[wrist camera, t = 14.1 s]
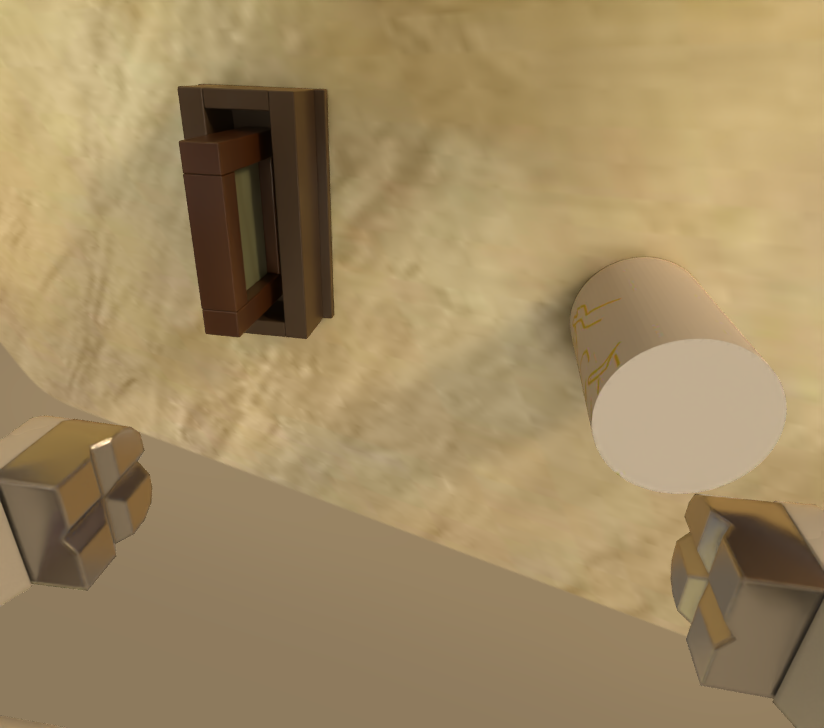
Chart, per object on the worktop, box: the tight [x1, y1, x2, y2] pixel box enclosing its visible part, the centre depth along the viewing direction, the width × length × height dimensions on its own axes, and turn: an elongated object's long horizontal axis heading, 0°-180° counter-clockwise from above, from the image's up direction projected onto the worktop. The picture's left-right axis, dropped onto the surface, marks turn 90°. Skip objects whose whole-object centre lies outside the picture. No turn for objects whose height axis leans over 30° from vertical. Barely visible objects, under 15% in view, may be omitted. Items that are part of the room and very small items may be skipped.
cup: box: [570, 257, 787, 494], centre depth 32 cm, size 8×8×12 cm
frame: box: [179, 126, 283, 337], centre depth 33 cm, size 2×10×8 cm, turn 178°
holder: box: [178, 84, 334, 339], centre depth 35 cm, size 8×14×4 cm, turn 178°
